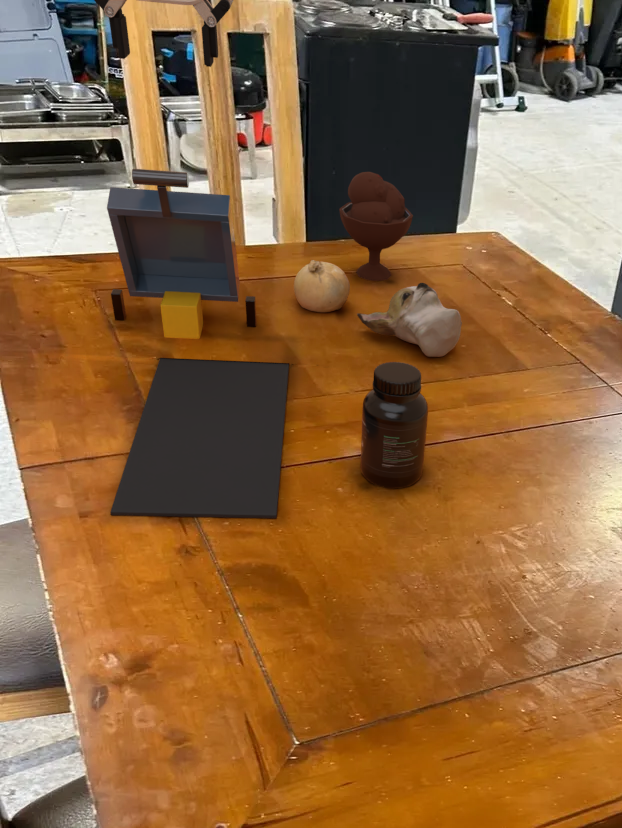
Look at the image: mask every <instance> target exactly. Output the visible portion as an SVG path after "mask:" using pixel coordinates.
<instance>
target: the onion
mask: <svg viewBox="0 0 622 828" xmlns="http://www.w3.org/2000/svg"><path fill="white" fill-rule="evenodd" d="M293 280H294V281H293V292H294V296H295V298H296V301H297V302H298V304H299V305H300V307H301V308H303V309H306V310H307V311H310V312H315V313H316V312H317V313H330V312H333V311H338V310H341V309H342V307H343V306H344V305H345V303H346V302H347V299H348V298H349V294H350V293H351V292H350V291H351V285H350V281H349V278H348V276H347V275H346V273H345V271H344V270H343V269H342V268H340V267H339V266H337V264H334V263H331V262H327V261H320V260H314V259H311V260H310V262H309V263H308V264H307V263H306V264H305V265H304V266H303V267H302V268H300V270H299V271H298V272H297V274H296V275H295V277H294V279H293Z"/></svg>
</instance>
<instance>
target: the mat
mask: <svg viewBox="0 0 622 828" xmlns="http://www.w3.org/2000/svg"><path fill="white" fill-rule="evenodd" d="M289 371H290V362H272V361H271V362H269V361H246V360H225V359H224V360H220V359H201V358H200V359H199V358H175V357H159V360H158V364H157V366H156V370H155V372H154V376H153V379H152V382H151V385H150V388H149V391H148V394H147V397H146V400H145V404H144V406H143V409H142V413H141V416H140V420H139V422H138V425H137V428H136V431H135V434H134V438H133V440H132V444H131V447H130V450H129V453H128V456H127V459H126V462H125V465H124V469H123V471H122V475H121V478H120V481H119V484H118V487H117V490H116V493H115V497H114V499H113V503H112V506H111V509H110V512H109V513H110V516H130V517H135V516H136V517H179V518H180V517H183V518H186V517H187V518H230V519H231V518H233V519H234V518H236V519H277V517H278V507H279V505H278V504H279V496H280V495H279V494H280V481H281V469H282V456H283V444H284V443H283V442H284V434H285V433H284V432H285V420H286V419H285V418H286V409H287V408H286V407H287V396H288V383H289V382H288V381H289V373H290V372H289Z"/></svg>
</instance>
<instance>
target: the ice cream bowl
mask: <svg viewBox="0 0 622 828" xmlns="http://www.w3.org/2000/svg"><path fill="white" fill-rule="evenodd" d="M347 196H348V198H349V199H350V201H349V202H346V203H345V204H344V205H343V206H341V207H339V216H340V220H341V223H342V226H343V228H344V229H345V230H346V232H347V233H348V235H349V236H350V237H351V238H352V239H353V241H354V242H355V243H357V244H358V245H359V246H361V247H364V248H366V249H367V251H368V262H366V263H363V264H362V265H360V266H359V267H358V268H357V269H356V271H355V273H356V275H357V276H358V277H359V278H361V279H363V280H366V281H374V282H380V281H381V282H382V281H387V280H389V279H390V278H391V277H392V272H391V270H390V269H389V267H387V266H385V265H384V264H382V263H381V253H382V250H385V249H389V248H391V247H393V246H394V245H396V244H397V243H398V242H399V241H400V240H401V239H402V238H403V237H404V236H405V235H406V234H407V233H408V232H409V229H410V228H411V225H412V221H413V217H414V215H413V214H412V212H411V211H410V210H409V209H408V208H407V207H406V204H405V201H406V199H405V198H404V196H403V195H402V193H401V191H400V190H399V189H398V188H397V187H396V186H395V185H394V184H392V183H391V182H389V181H386V180H384V178H383V177H382V175H380V174H378V173H375V172H372V171H362V172H359V173H357V174H355V176H353V177H352V179H351V180H350V183H349V185H348V187H347Z"/></svg>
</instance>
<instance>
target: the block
mask: <svg viewBox="0 0 622 828" xmlns="http://www.w3.org/2000/svg"><path fill="white" fill-rule="evenodd" d="M161 299H162V300H161V302H160V304H159V307H160V313H161V322H162V330H163V338H168V339H169V338H171V339H191V340H200V339H201V335H202V331H203V328H204V317H203V306H202V305H203V304H202V300H201V293H191V292H173V291H165V294H164V296H163V298H161Z"/></svg>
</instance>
